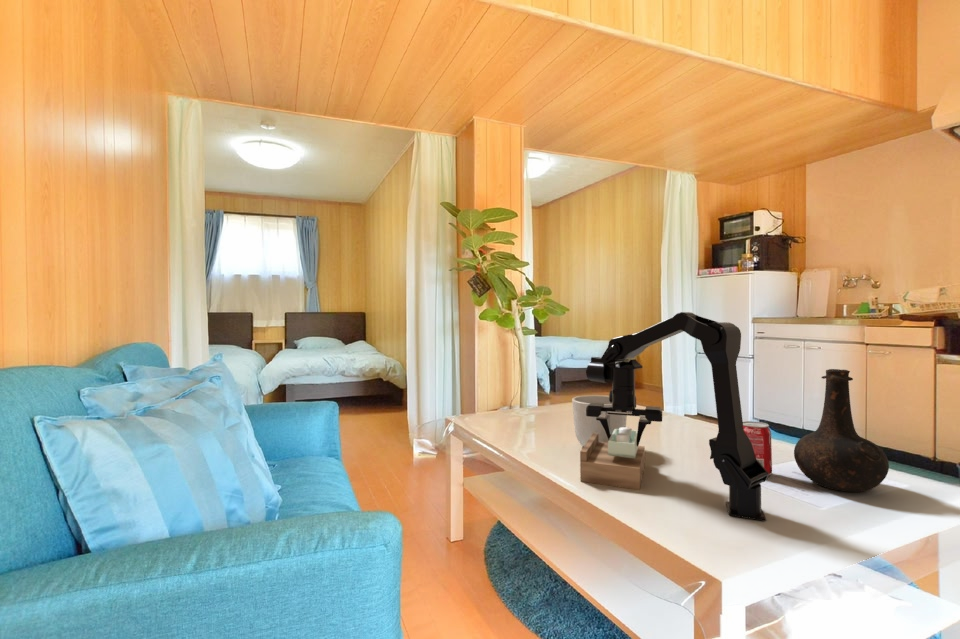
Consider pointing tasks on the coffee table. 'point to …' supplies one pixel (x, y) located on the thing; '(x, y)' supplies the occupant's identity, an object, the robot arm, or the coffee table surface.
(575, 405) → the planter
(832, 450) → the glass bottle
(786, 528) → the coffee table surface
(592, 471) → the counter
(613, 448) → the tray
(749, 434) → the soda can
